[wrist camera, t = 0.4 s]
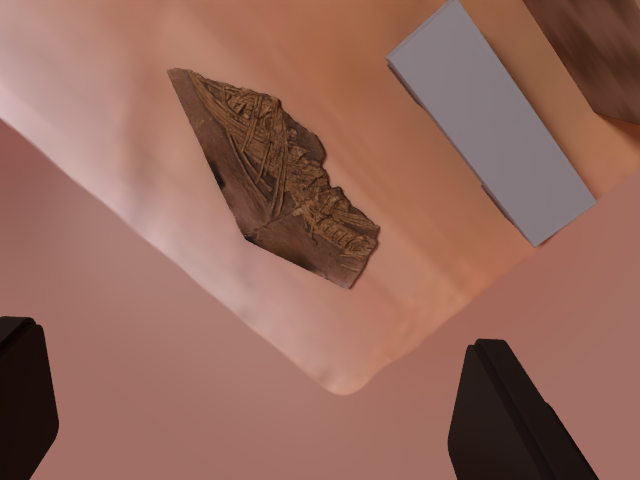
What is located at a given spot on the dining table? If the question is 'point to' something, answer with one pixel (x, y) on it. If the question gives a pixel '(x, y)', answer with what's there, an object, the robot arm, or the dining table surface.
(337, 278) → the wooden fragment
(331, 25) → the dining table surface
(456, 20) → the shelf board
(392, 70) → the support blocks
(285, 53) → the dining table surface
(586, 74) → the shelf unit
